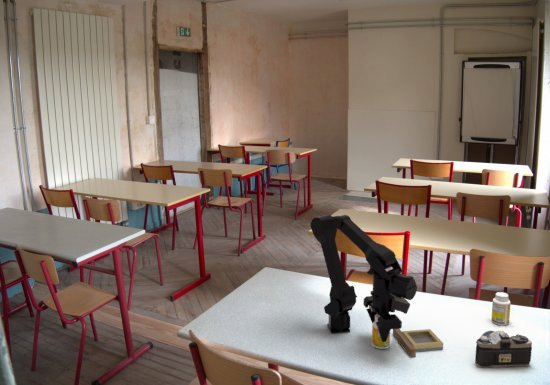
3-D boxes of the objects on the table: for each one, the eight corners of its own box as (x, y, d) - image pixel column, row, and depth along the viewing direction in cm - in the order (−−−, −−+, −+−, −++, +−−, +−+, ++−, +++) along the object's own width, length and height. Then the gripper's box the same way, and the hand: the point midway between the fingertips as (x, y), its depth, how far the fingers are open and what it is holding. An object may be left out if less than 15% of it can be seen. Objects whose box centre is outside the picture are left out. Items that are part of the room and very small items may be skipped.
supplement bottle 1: (371, 340, 157) (371, 312, 155) (388, 341, 156) (389, 312, 154) (372, 348, 152) (373, 319, 150) (390, 349, 151) (391, 320, 149)
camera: (515, 350, 151) (517, 319, 149) (533, 368, 141) (536, 336, 139) (464, 351, 150) (466, 321, 149) (479, 370, 140) (481, 337, 138)
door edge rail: (410, 357, 148) (410, 349, 147) (392, 334, 162) (392, 327, 162) (415, 356, 148) (415, 349, 147) (397, 333, 162) (397, 326, 162)
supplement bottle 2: (503, 318, 172) (505, 290, 170) (512, 325, 167) (514, 297, 165) (488, 319, 172) (490, 291, 170) (496, 326, 166) (498, 298, 164)
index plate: (413, 352, 151) (413, 345, 150) (401, 337, 160) (402, 331, 159) (442, 349, 152) (443, 343, 151) (429, 335, 161) (430, 329, 160)
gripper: (419, 300, 142) (417, 350, 145) (396, 277, 161) (395, 322, 164) (382, 303, 141) (381, 353, 144) (363, 279, 159) (362, 324, 162)
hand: (380, 337), depth 154 cm, fingers closed on supplement bottle 1, 5 cm apart
